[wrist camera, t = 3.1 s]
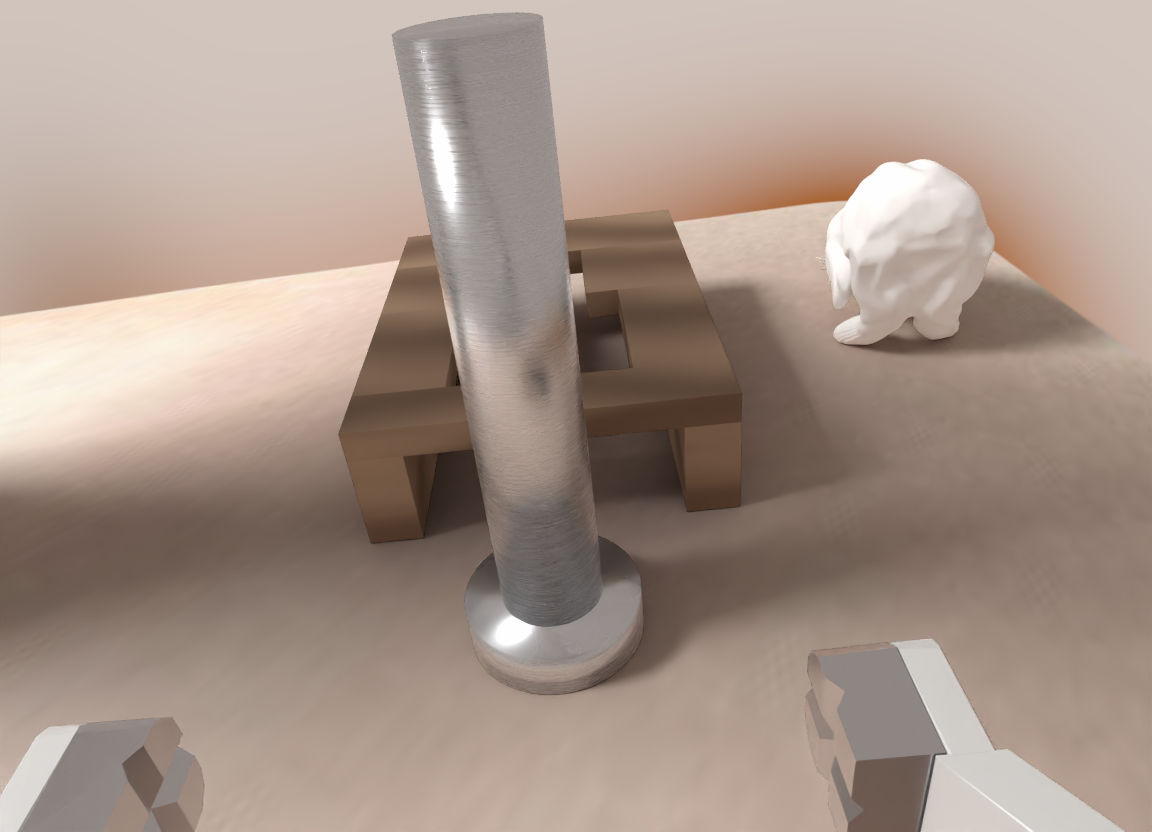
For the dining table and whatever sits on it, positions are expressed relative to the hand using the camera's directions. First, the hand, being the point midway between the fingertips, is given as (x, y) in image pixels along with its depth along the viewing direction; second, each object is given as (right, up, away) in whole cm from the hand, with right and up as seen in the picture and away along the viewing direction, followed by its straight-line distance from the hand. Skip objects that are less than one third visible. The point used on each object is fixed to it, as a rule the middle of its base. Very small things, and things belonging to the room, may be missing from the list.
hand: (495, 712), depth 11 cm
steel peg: (0, -3, +17) cm, 17 cm away
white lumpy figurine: (+17, +9, +33) cm, 38 cm away
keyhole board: (0, +5, +29) cm, 29 cm away
